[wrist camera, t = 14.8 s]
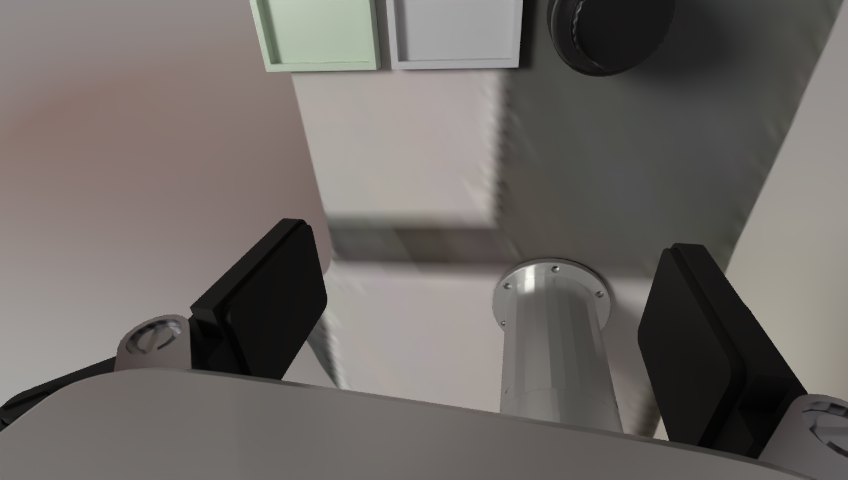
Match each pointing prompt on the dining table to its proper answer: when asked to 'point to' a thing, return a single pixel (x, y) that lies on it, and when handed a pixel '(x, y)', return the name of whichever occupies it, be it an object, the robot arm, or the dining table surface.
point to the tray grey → (454, 33)
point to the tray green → (317, 34)
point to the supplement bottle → (607, 32)
